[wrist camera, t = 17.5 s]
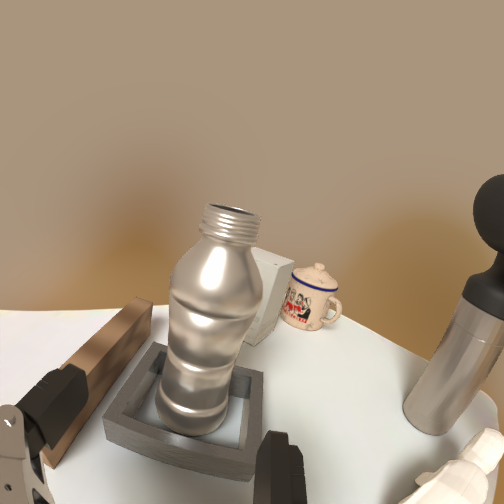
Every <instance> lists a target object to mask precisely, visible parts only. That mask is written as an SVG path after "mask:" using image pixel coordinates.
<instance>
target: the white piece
mask: <svg viewBox="0 0 504 504" xmlns="http://www.w3.org/2000/svg"><path fill="white" fill-rule="evenodd" d="M503 453H504V436H503V435H502V434H501V433H500V432H499V431H497V430H495V429H491V428H485V429H483V430H482V431H480V432H479V433H478V434H476V435H475V436H474V437H473V438H472V440H471V441H470V442H469V443H468V444H467V445H466V446H465V448H464V450H463V451H462V452H461V453H460V454H459V455H458V459H457V460H449V461H448V462H447V463H446V464H445V465H443V466H442V467H441V468H440V469H438V470H437V471H436V472H424V473H421V474H420V476H419V477H418V478H417V479H416V480H415V482H416V483H417V484H418V485H419V486H420V487H419V488H418V489H417V490H416V491H415V492H414V493H412V494H411V495H409V496H408V497H406V498H404V499H403V500H401V501H400V502H399V503H398V504H483V503H484V501H485V500H486V498H487V492H488V480H487V478H486V475H487V474H489V473H490V472H491V471H492V470H494V469H495V467H496V465H497V463H498V462H499V460H500V459H501V458H502V456H503Z"/></svg>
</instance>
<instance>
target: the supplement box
mask: <svg viewBox="0 0 504 504" xmlns="http://www.w3.org/2000/svg"><path fill="white" fill-rule="evenodd" d="M251 253H252V255H253V257H254V260H255V262H256V264H257V266H258V269H259V272H260V275H261V278H262V281H263V299H262V302H261V304H260V307H259V309H258V311H257V313H256V315H255V317H254V320H253V322H252V324H251V326H250V328H249V330H248V332H247V334H246V336H245V338H244V340H243V341H245V342H247V343H249V344H251V345H253V346H255V345H256V344H258V343H259V342H260V341H262V340H263V339H264V338H265V337H266V336H268V335H269V334H270V333H271V332H272V331H273V330H274V328H275V324H276V321H277V318H278V315H279V312H280V309H281V306H282V302H283V299H284V296H285V293H286V289H287V287H288V283H289V280H290V276H291V273H292V270H293V267H294V263H295V261H293V260H290V259H287V258H284V257H281V256H279V255H276V254H273V253H271V252H268V251H265V250H263V249H260V248H257V247H254V248H251Z"/></svg>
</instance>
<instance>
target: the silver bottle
mask: <svg viewBox="0 0 504 504" xmlns="http://www.w3.org/2000/svg"><path fill="white" fill-rule="evenodd" d="M260 218H261V216H260V215H258V214H256V213H253V212H250V211H247V210H243V209H239V208H235V207H231V206H226V205H222V204H216V203H207V204H206V206H205V210H204V215H203V220H202V222H201V223H200V227H199V231H200V232H201V233H203V235H202V237H201V240H200V241H199V242H197V243H196V244H195V245H194V246H193V247H192V248H191V249H189V251H187V252H186V253H185V254H184V256H183V257H182V258H181V259H180V260H179V261H178V262H177V264H176V266H175V268H174V270H173V272H172V274H171V276H170V286H169V291H170V292H169V334H168V347H167V356H166V360H165V365H164V369H163V373H162V377H161V379H160V381H159V384H158V387H157V390H156V394H155V405H156V410H157V414H158V416H159V418H160V419H161V421H162V422H163V423H164V424H165V425H166V426H168V427H169V428H170V429H172V430H173V431H175V432H177V433H180V434H183V435H188V436H199V435H204V434H208V433H210V432H212V431H214V430H215V429H217V428H218V427H219V425H220V424H221V423H222V421H223V420H224V418H225V416H226V414H227V409H228V401H229V395H228V390H229V385H230V380H231V375H232V369H233V367H234V364H235V361H236V357H237V356H238V353H239V351H240V348H241V345H242V342H243V340H244V338H245V336H246V334H247V332H248V330H249V328H250V326H251V324H252V322H253V320H254V317H255V315H256V313H257V311H258V309H259V307H260V304H261V302H262V299H263V281H262V278H261V275H260V272H259V269H258V266H257V264H256V262H255V260H254V257H253V255H252V253H251V245H255V244H257V240H258V236H257V233H258V229H259V225H260V221H261V219H260Z"/></svg>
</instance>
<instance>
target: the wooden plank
mask: <svg viewBox="0 0 504 504" xmlns="http://www.w3.org/2000/svg"><path fill="white" fill-rule="evenodd" d="M152 308H153V303H152V302H149V301H146V300H143V299H141V298H138V297H135V298H134V299H133V300H132V301H131V302H130V303H129V304H128V305H126V306H125V307H124V308H123V309H122V310H121V311H120V312H119V313H117V314H116V315H115V316H114V317H113V318H112V319H111V320H110V321H109V322H108V323H106V324H105V325H104V326H103V327H102V328H101V329H100V330H99V331H98V332H97V333H96V334H95V335H93V336H92V337H91V338H90V339H89V340H88V341H87V342H86V343H85V344H84V345H83V346H82V347H81V348H80V349H79V350H78V351H76V352H75V353H74V354H73V355H72V356H71V357H70V358H69V359H68V360H67V361H66V362H65V363H64V364H63V365H62V366H61V367H60V368H59V369H60V370H62V369H63V368H64V367H65V366H66V365H67V364H69V363H71V364H73V365H75V366H77V367H79V368H81V369H83V370H84V371H85V372H86V378H87V385H88V391H89V397H88V401H87V403H86V405H85V406H84V408H83V409H82V410H81V412H80V413H79V414H78V416H77V417H76V418H75V420H74V421H73V423H72V424H71V425H70V427H69V428H68V429H67V431H66V432H65V434H64V435H63V436H62V438H61V439H60V441H59V442H58V443H57V445H56V446H55V448H54V449H53V450H52V451H51V450H50V449H48V448H47V447H45V446H44V447H43V448H42V450H41V451H42V457H43V463H45V464H46V465H48V466H49V467H51V468H52V469H54V468H55V467H56V465H57V464H58V462H59V461H60V459H61V458H62V456H63V455H64V453H65V452H66V450H67V449H68V447H69V446H70V444H71V443H72V441H73V440H74V438H75V437H76V435H77V434H78V433H79V431H80V430H81V428H82V427H83V425H84V424H85V422H86V421H87V420H88V418H89V417H90V415H91V414H92V412H93V411H94V410H95V408H96V407H97V405H98V404H99V403H100V401H101V400H102V398H103V397H104V396H105V394H106V393H107V391H108V390H109V389H110V387H111V386H112V384H113V383H114V382H115V380H116V379H117V378H118V376H119V375H120V374H121V372H122V371H123V369H124V368H125V367H126V365H127V364H128V363H129V361H130V360H131V359H132V357H133V356H134V355H135V353H136V352H137V351H138V349H139V348H140V347H141V345H142V344H143V343H144V341H145V340H146V339H147V337H148V336H149V335H150V326H151V317H152Z"/></svg>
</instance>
